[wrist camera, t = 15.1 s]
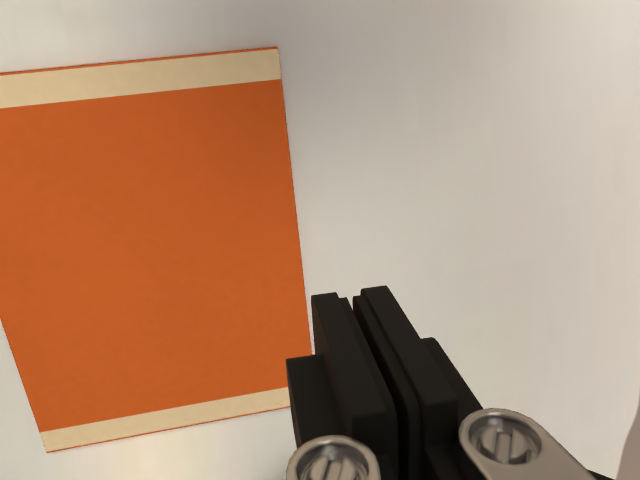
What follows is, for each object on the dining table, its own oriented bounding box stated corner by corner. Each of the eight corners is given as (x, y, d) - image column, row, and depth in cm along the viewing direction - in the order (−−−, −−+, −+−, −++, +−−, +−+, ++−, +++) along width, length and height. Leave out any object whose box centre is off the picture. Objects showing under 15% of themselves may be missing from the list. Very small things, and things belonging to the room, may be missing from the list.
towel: (-79, 80, 29) (-83, 81, 29) (277, 46, 32) (277, 46, 32) (48, 449, 39) (46, 453, 38) (316, 399, 41) (317, 402, 41)
